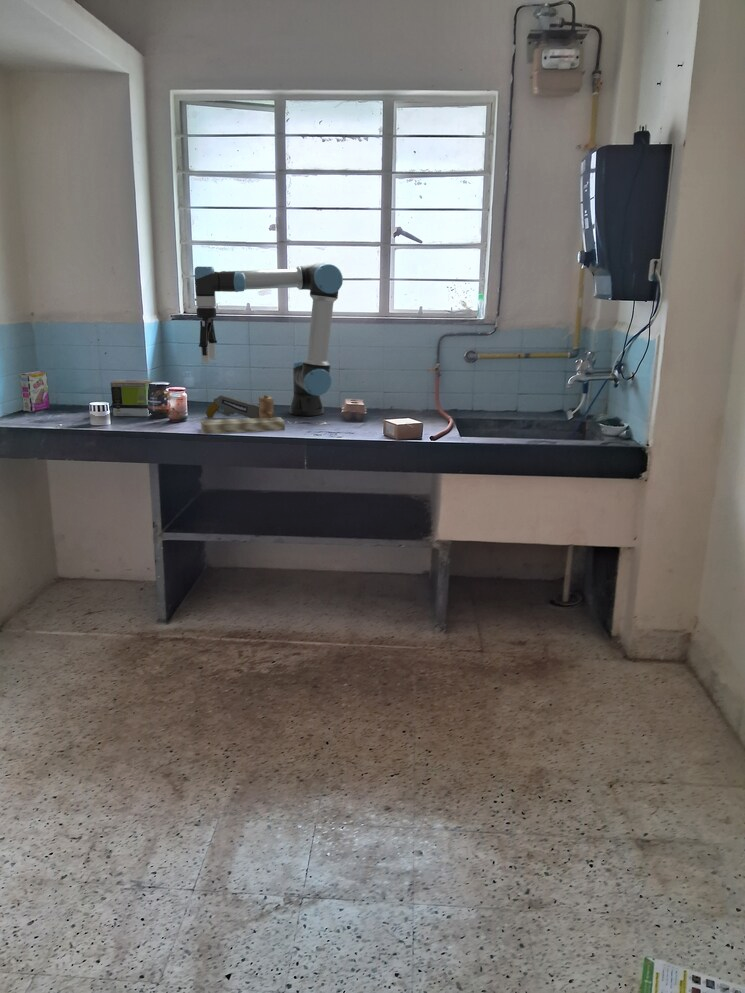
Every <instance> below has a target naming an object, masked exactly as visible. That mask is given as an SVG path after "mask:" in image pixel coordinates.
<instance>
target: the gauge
mask: <svg viewBox="0 0 745 993" xmlns="http://www.w3.org/2000/svg"><path fill="white" fill-rule="evenodd" d="M258 405H259V418H271V417H275V416H274V415H275V414H274V411H275V410H274V398H273V397H272V396H269V395H268V394H265V395H263V396H258Z"/></svg>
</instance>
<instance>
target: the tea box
mask: <svg viewBox="0 0 745 993" xmlns="http://www.w3.org/2000/svg"><path fill="white" fill-rule="evenodd" d="M152 380H153V379H116V380H114V381H111V382H110V391H111V403H112V414H113V417H149V416H151V415H152V414H151V413H150V414H149V410H148V387H149V384H150V383H152V384H153V381H152Z"/></svg>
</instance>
